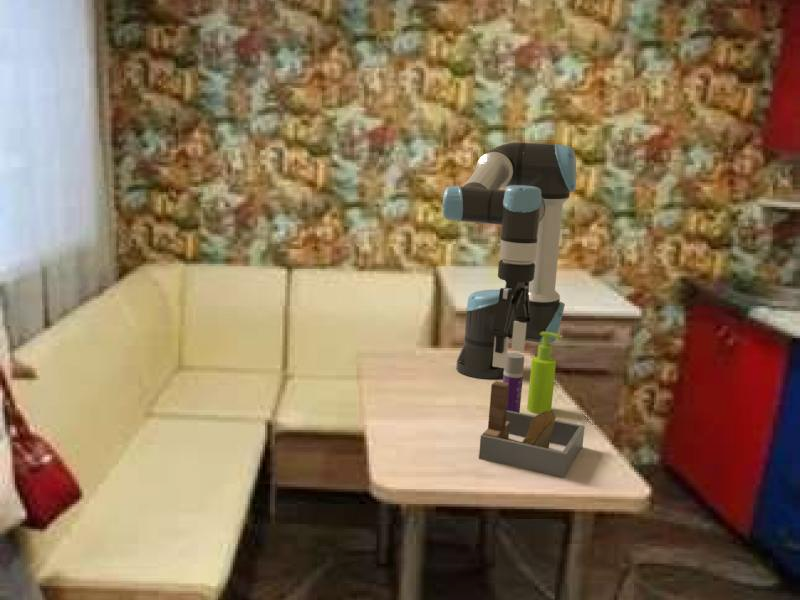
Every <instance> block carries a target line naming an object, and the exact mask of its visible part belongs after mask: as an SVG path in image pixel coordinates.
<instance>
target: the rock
mask: <svg viewBox="0 0 800 600" xmlns="http://www.w3.org/2000/svg"><path fill="white" fill-rule="evenodd" d="M534 416H535V417H534V418H532V419H531V421H530V422H531V423H530V428H529V430H528V432H527V436H526V437H524V438H523V440H522V442H521V443H525V444H529V445H534V446H539V447H543V448H548V449H550V443H551V442H550V436H551V434H552V430H553V427H554V423H555V420H557V418H556V414H555V413H554V412H553V410H552V409H551V410H550V411H544V412H542V413H540V414H536V415H534Z"/></svg>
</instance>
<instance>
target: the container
mask: <svg viewBox="0 0 800 600" xmlns="http://www.w3.org/2000/svg"><path fill="white" fill-rule="evenodd" d="M524 363H525V355H524V354H522V353H519V352H507V361H506V368H504V373H503V377H502V382H505V383H509V391H508V402H507V410H508V411H513V412H518V413H521V412H520V411H521V401H522V390H523V379H524V367H525V366H524V365H525V364H524Z"/></svg>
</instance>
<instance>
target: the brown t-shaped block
mask: <svg viewBox="0 0 800 600" xmlns="http://www.w3.org/2000/svg"><path fill="white" fill-rule="evenodd" d="M508 391H509V383H505V382H503V381H498V380H495V381H494V382H493V383H492V384H491V388H490V399H489V400H490V401H489V410H488V411H489V413H488V421H487V422H488V425H487V429H485V431H484V432H483V433H482V434H483V435H488V436H492V437H497V438H502V439H506V440H509V437H510V436H509V435H510V433H509V427H510V422H509V421H506V413H507V402H508Z"/></svg>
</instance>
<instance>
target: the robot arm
mask: <svg viewBox="0 0 800 600" xmlns="http://www.w3.org/2000/svg"><path fill="white" fill-rule="evenodd" d="M576 159H577V158H576V153H575V150H574V148H573V147H572V146H570V145H564V144H557V143H537V142H535V143H533V142H520V141H519V142H518V141H516V142H509V143H504V144H501V145H498V146H495V147H494V148H492V149H490V150H488V151H487V152H485V153H484V154H483V155H481V156H480V158H479V159H478V161H477V163H476V165H475V171H474V172H473V173H472V174H471V176H470V177H469V178H468V179H467V180H466V182H465V183H464V185H462V186H460V185H457V186H456V185H455V186H451V185H450V186H447V187H446V188H445V190H444V193H443V197H442V206H441V207H442V215H443V217H444V219H446V220H449V221H457V222H467V223H479V224H491V225H492V224H493V225H500V226H501V235H500V242H498V244H497V247H498V248H500V249H499V258H500V260H499V261H498V266H497V267H498V268H497V277H498V279H500V280H502V281H505V286H504V287H501V288H499V289H483V290H478V291H475V292H472V293H470V294H469V296H468V298H467V304H466V305H467V306H466V308H465V310H466V317H465V329H464V330H465V331H464V341H463V345H462V348H461V350H460V352H459V355H458V357H457V359H456V366H455V367H456V370H457V372H459V373H460V374H463V375H464V376H468V377H472V378H478V379H488V380H489V379H501V378H503V373H504V368H506V361H507V353H508V350H509V339H510V340H511V351H516V352H521V353H522V352H525V345H526V344H525V343H526V341H527V342H532V343H538V344H542V339H543V335H540V333H541V332H543V331H544V332H552V333H556V334H559V331H560V326H561V324H562V323H561V322H562V318H563V314H564V312H565V311H564V310H565V307H566V306H565V303H564V302H563V301H561V295H560V293H558V292H557V290H556V281H557V272H558V261H559V260H558V259H559V250H560V241H561V240H560V238H561V227H562V215H563V206H564V203H566V201H567V200H569V199H570V195H571V194H570V193H573V192H575V191H576V189H577V160H576ZM504 187H506V188H505V190H504V189H502V188H504ZM556 340H557V338H554V337H550V340H549V344H553V343H555V341H556Z"/></svg>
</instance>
